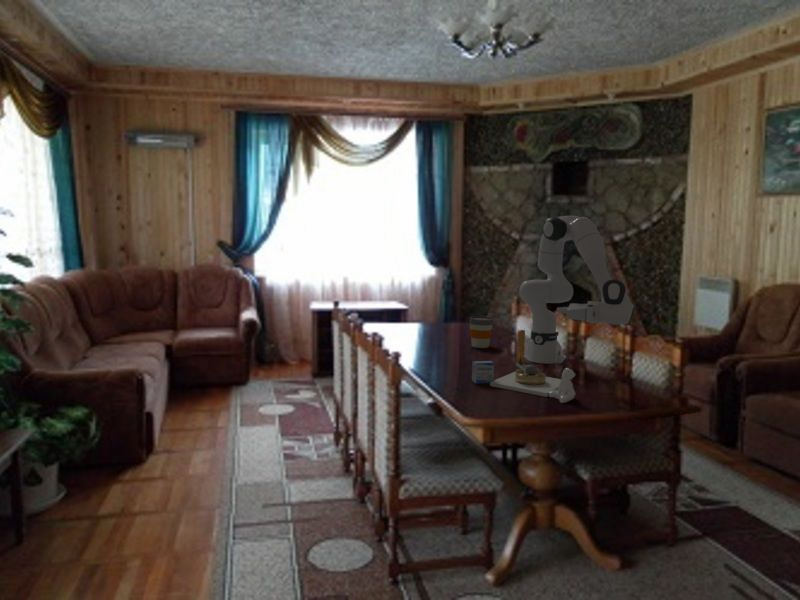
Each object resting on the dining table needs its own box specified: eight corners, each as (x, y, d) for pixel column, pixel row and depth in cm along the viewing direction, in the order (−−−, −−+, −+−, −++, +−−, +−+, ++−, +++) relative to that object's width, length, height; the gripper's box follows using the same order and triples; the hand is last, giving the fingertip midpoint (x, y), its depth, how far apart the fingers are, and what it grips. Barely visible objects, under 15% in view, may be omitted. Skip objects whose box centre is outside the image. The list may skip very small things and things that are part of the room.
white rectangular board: (515, 374, 265) (516, 356, 264) (569, 384, 251) (570, 365, 250) (489, 385, 246) (490, 366, 245) (546, 397, 232) (547, 376, 231)
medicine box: (475, 384, 248) (476, 363, 247) (471, 381, 252) (472, 360, 251) (493, 383, 250) (494, 362, 249) (489, 380, 254) (490, 360, 253)
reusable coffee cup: (486, 349, 316) (487, 321, 314) (464, 346, 322) (465, 318, 320) (495, 345, 326) (497, 318, 324) (474, 342, 333) (475, 315, 331)
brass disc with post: (549, 385, 243) (552, 339, 241) (520, 385, 242) (523, 339, 239) (531, 371, 264) (533, 329, 262) (504, 371, 263) (506, 329, 260)
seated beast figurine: (546, 396, 233) (548, 365, 231) (565, 394, 236) (567, 364, 234) (561, 403, 224) (563, 371, 222) (581, 401, 227) (583, 370, 226)
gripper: (592, 301, 260) (559, 299, 264) (591, 307, 240) (554, 305, 245) (591, 315, 260) (558, 313, 265) (590, 323, 241) (554, 320, 246)
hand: (556, 309), depth 255 cm, fingers closed
